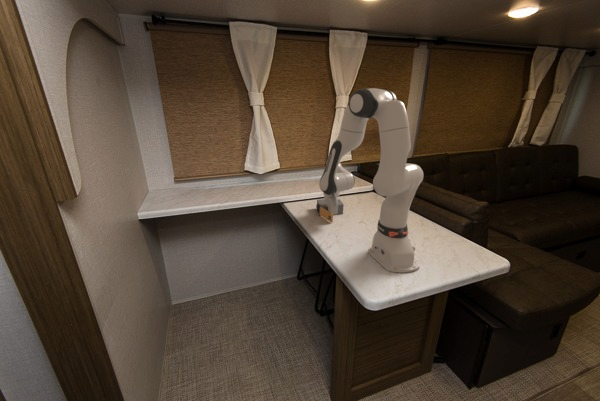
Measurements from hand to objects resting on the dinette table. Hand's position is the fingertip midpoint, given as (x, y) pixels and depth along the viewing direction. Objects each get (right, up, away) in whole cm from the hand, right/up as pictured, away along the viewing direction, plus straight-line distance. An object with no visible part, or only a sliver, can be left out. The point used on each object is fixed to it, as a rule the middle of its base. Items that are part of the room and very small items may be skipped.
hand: (330, 214), depth 144 cm
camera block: (+1, +1, +13) cm, 13 cm away
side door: (-3, -3, +2) cm, 4 cm away
